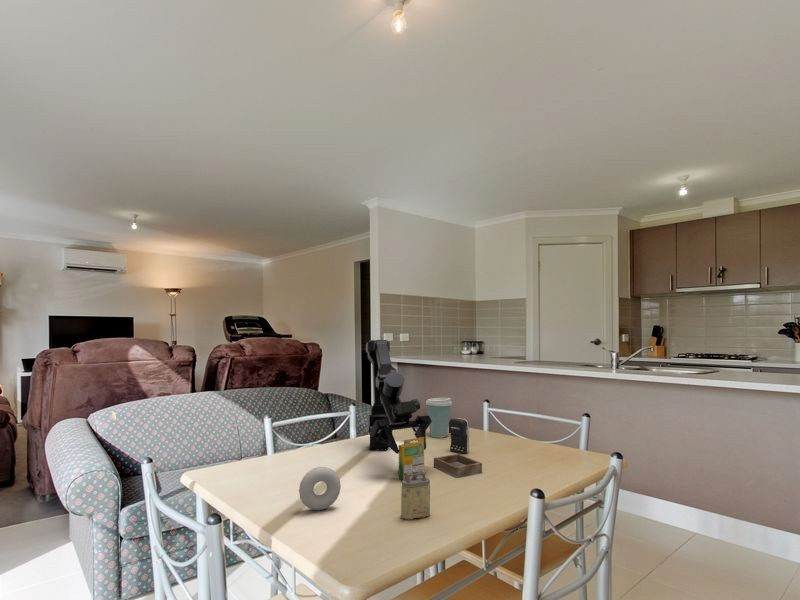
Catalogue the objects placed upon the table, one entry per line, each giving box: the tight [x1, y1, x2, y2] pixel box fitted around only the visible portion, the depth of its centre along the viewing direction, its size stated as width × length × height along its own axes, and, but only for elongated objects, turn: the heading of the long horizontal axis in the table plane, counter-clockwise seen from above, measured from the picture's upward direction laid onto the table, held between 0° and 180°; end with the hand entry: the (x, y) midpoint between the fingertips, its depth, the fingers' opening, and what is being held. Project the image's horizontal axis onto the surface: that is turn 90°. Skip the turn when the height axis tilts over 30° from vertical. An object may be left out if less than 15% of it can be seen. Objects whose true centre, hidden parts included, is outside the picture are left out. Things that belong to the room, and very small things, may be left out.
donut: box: [298, 466, 342, 511], centre depth 110 cm, size 10×3×10 cm, turn 113°
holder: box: [433, 453, 483, 479], centre depth 141 cm, size 10×12×3 cm
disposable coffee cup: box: [425, 397, 453, 439], centre depth 184 cm, size 11×11×15 cm
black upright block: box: [448, 417, 470, 454], centre depth 161 cm, size 7×4×11 cm, turn 47°
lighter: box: [400, 470, 431, 520], centre depth 107 cm, size 7×4×10 cm, turn 112°
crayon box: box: [398, 437, 425, 482], centre depth 133 cm, size 7×3×12 cm, turn 123°
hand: (411, 451), depth 133 cm, fingers open, 9 cm apart
